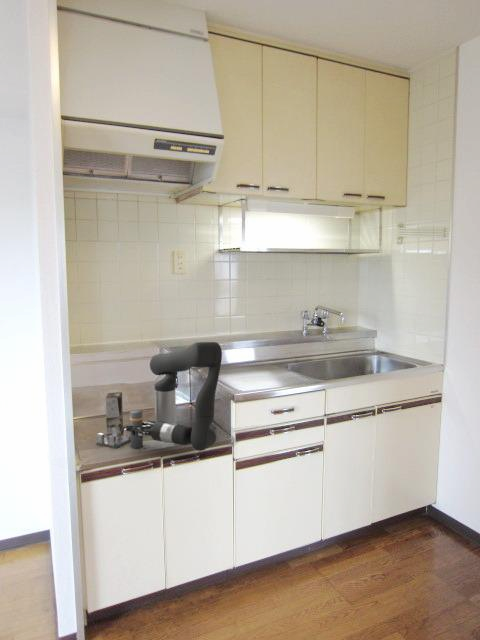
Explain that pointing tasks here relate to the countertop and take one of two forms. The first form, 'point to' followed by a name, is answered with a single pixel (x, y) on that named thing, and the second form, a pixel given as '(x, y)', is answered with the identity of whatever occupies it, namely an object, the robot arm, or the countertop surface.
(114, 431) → the bracket
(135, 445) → the tube
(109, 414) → the coffee box
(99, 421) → the countertop surface
